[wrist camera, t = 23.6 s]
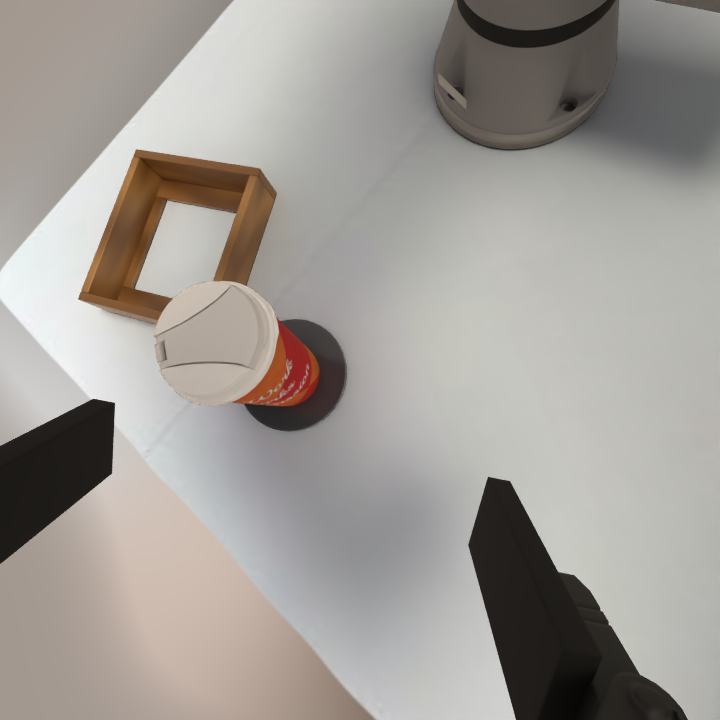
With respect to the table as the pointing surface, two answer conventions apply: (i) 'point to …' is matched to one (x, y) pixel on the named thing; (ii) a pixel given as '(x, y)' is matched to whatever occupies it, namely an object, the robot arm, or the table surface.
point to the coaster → (326, 390)
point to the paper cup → (231, 349)
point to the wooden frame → (141, 217)
